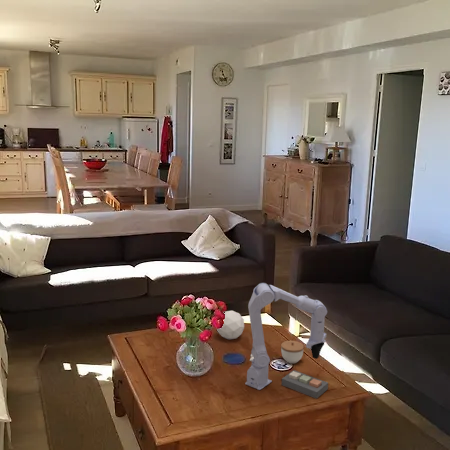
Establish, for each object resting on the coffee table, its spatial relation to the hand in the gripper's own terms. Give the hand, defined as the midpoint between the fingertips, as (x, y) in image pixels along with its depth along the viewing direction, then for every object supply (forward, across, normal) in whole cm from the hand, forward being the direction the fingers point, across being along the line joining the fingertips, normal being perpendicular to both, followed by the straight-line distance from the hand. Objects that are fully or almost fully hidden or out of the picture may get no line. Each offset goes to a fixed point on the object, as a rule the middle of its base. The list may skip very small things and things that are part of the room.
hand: (315, 357), depth 223 cm
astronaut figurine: (+11, 0, +30) cm, 31 cm away
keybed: (+10, -8, 0) cm, 13 cm away
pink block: (+9, -8, -5) cm, 13 cm away
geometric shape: (+11, +10, +55) cm, 57 cm away
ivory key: (+9, -9, +5) cm, 13 cm away
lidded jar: (+11, +9, +17) cm, 22 cm away
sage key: (+9, -9, 0) cm, 12 cm away
